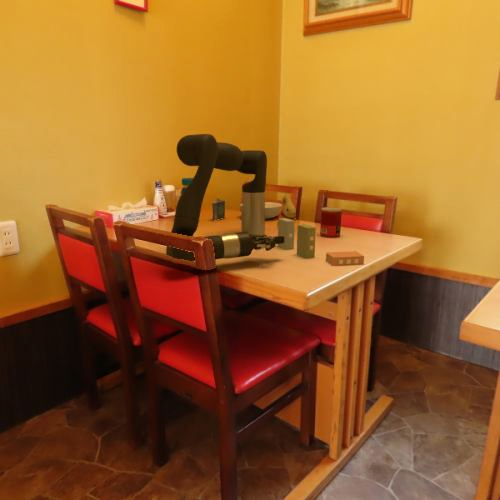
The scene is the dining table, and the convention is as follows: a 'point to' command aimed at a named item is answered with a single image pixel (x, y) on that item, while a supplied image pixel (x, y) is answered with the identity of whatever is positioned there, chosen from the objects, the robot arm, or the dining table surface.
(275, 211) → the serving bowl
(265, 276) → the dining table surface
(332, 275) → the dining table surface
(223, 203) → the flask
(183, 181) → the beverage bottle
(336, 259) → the digit tile 3
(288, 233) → the digit tile 1
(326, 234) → the canned food
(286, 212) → the yellow pear
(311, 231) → the digit tile 2
